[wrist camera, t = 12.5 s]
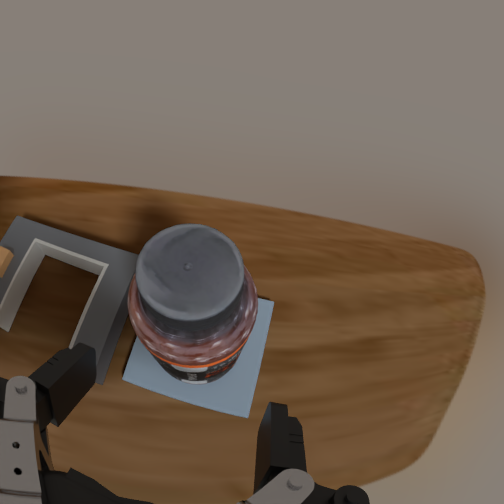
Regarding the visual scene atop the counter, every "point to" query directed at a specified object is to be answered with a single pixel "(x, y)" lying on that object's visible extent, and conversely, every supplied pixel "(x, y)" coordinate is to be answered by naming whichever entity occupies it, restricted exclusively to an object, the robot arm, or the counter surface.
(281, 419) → the robot arm
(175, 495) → the counter surface
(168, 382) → the coaster
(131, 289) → the supplement bottle
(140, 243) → the counter surface
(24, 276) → the grey c-shaped bracket
